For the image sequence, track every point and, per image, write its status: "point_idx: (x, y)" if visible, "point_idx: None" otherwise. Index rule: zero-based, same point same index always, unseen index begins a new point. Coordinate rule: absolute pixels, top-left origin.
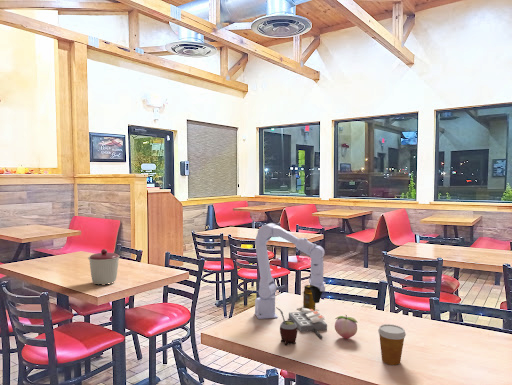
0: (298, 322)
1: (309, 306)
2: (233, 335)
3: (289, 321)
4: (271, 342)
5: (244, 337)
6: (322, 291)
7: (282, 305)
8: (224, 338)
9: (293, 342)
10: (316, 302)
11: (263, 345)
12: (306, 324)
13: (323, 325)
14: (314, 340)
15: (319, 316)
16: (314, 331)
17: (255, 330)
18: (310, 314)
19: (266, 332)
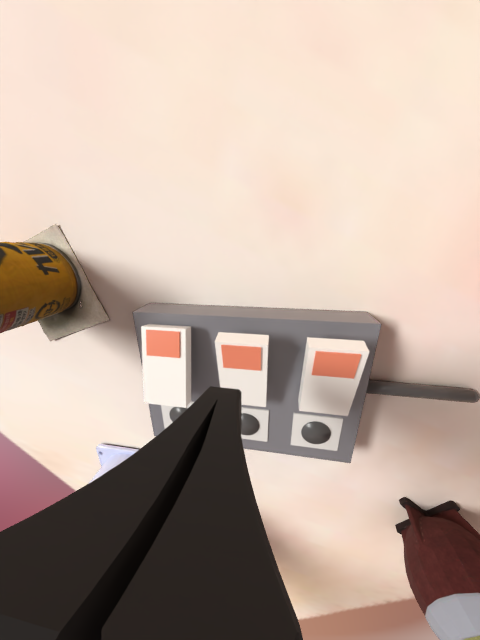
0: (295, 452)
1: (54, 297)
2: (292, 597)
3: (460, 630)
4: (394, 553)
5: (318, 586)
6: (277, 579)
7: (12, 379)
8: (306, 616)
9: (452, 513)
10: (240, 419)
11: (406, 577)
12: (340, 434)
13: (373, 344)
14: (467, 428)
15: (325, 368)
16: (376, 392)
17: (271, 547)
18: (245, 387)
19: (299, 531)
